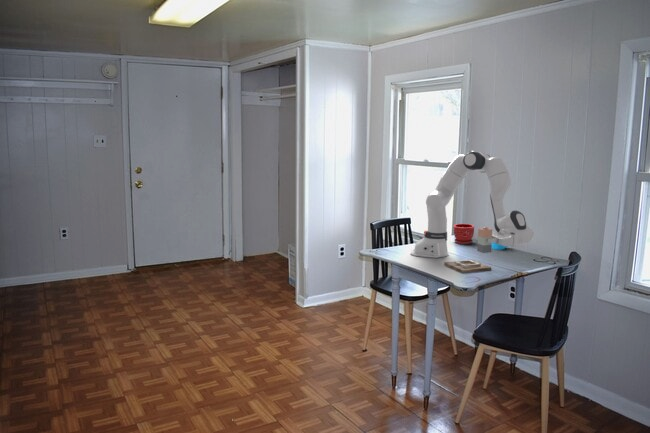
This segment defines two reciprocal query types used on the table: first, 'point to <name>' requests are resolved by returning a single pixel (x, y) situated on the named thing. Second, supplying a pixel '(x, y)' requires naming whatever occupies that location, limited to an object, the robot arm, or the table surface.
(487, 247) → the brick tower
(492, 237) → the robot arm
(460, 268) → the socket board
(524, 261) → the table surface
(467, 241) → the plant pot
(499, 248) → the mug
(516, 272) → the table surface
